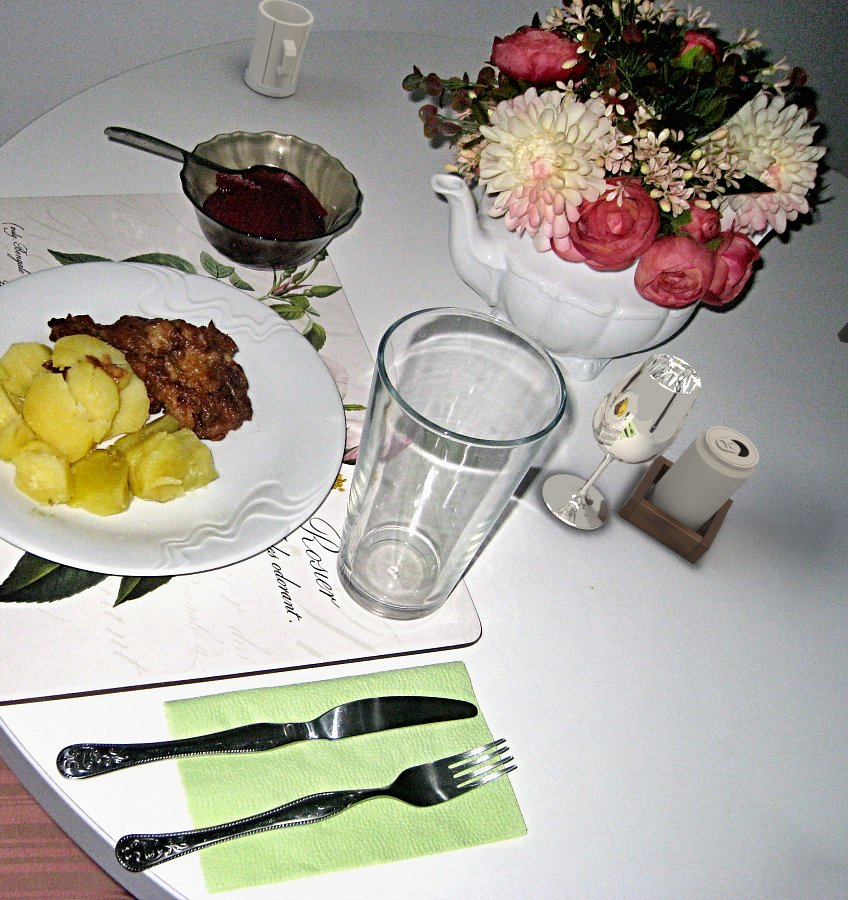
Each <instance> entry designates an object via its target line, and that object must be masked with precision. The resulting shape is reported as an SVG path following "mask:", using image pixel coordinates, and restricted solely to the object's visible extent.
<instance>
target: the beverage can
mask: <svg viewBox="0 0 848 900" xmlns="http://www.w3.org/2000/svg"><path fill="white" fill-rule="evenodd" d="M759 461H760V454H759V451H758V449H757V448H756V446H755V444H754V443H753V442H752V441H751V440H750V439H749V438H748V437H747V436H746V435H744V434H742V433H741V432H739V431H737V430H735V429H733V428H731V427H728V426H722V425H714V426H711V427H709V428H708V429H707V430H706V431H703V432H701V433H699V434H698V435H697V436H696V437H695V438H694V439H693V441H692V442H691V443H690V444H689V445H688V447H687V448H686V449H684V451H683V452H682V454H681V455H680V456H679V457H678V458H677V459H676V461H675V462H673V463H674V464H673V465H672V467H671V468H670V469H669V470H668V471H667V472H666V474H665V475H664V476H663V477H662V478H661V479H660V481H659V482H658V483H657V484H656V483H655V485H654V487H653V488H651V490H650V491H648V493H647V495H646V499H645V500H647V501H648V502H650V503H651V504H653V505H654V506H656V507H657V508H659V509H660V510H662V511H663V512H665V513H667V514H668V515H670V516H671V517H673V518H674V519H676V520H677V521H679V522H680V523H682V524H683V525H685V526H687V527H688V528H690V529H691V530H693V531H694V532H696V533H697V532H699V531H700V530H701V528H702V526H703V525H704V524H705V523H706V522H707V521H708V520H709V519H710V518H711V517H712V516H713V514H714V513H715V512H716V511H717V510H718V509H719V508H720V507H721V506H722V505H723V504H724V503H725V502H726V501H727V500H728V499H729V498H730V499H731V497H732V496H733V495H734V494H735V493H736V492H737V491H738V490H739V489H741V487H742V486H743V485H744V484H745V483H746V482H747V481H748V480H749V479H750V478H751V477H752V476H753V474H755V470H756V466H757V465H758V463H759Z"/></svg>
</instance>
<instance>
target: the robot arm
mask: <svg viewBox="0 0 848 900" xmlns="http://www.w3.org/2000/svg"><path fill="white" fill-rule="evenodd" d="M836 337H837V338H838V340H839V342H841V343H844V344H848V322H846V323H845V324H844V326H843V327H842V328H841V329H840V330H839V331H838V332H837V334H836Z"/></svg>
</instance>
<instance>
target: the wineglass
mask: <svg viewBox="0 0 848 900" xmlns="http://www.w3.org/2000/svg"><path fill="white" fill-rule="evenodd" d="M702 388H703V381H702V379H701V377H700V375H699V373H698V372H697V371H696V370H695V368H693V366H691V365H690V364H689V363H688V362H687V361H685V360H683V359H681V358H679V357H677V356H674V355H672V354H667V353H662V352H661V353H659V352H658V353H652V354H650V355H649V356H647V357H646V358H645V359H644V360H643V361H642V362H640V363H639V364H638V365H636V366H635V367H634V368H633V369H632V370H631V371H629V372H628V373H627V374H626V375H625V376H624V377H622V378H621V380H619V381H618V382H617V383H616V384H615V385H614V386H613V387H612V388H611V389H610V390H609V391H608V393H606V395H605V396H604V397H603V398H602V399H601V401H600V402H599V403H598V405H597V407H596V408H595V410H594V413H593V418H592V423H591V426H592V427H591V428H592V433H593V438H594V440H595V442H596V445H598V447H599V449H600V450H601V452H603V453H604V456H603V458H602V459H601V461H600V463H599V464H598V465H597V467H596V468H595V470H593V472H592V473H591V475H590V476H589V477H588V478H587V480H585V479H583V478H581V477H578V476H576V475H572V474H565V473H561V474H560V473H559V474H555V475H552V476H550V477H548V478H546V480H545V481H544V483H543V485H542V490H541V493H542V499H543V501H544V503H545V505H546V507H547V508H548V509H549V511H550V513H552V514H553V515H554V516H555V517H556V518H557V519H558V520H560V521H562V522H563V523H565V524H566V525H568V526H571V527H573V528H576V529H579V530H595V529H598V528H600V527H602V526H603V525H604V524H605V523H606V522H607V520H608V518H609V507H608V503H607V501H606V499H605V498H604V496H603V495H602V494H601V492H600V491H599V490H598V489H597V488H596V487H595V486H594V483H595V482H596V481H597V480H598V478H599V477H600V475H602V473H603V472H604V471H605V470H606V468H607V467H608V466H609V465H610V464H611V463H612V462H613V461H616V462H619V463H623V464H628V465H640V464H645V463H649V462H653V461H654V459H656V458H658V457H659V456H661V455H662V456H663V455H664V454H665V453H666V452H667V451H668V450H669V449H670V447H671V446H672V445H673V444H674V442H675V440H676V439H677V438H678V437H679V435H680V434H681V432H682V430H683V428H684V426H685V424H686V422H687V421H688V418H689V416H690V414H691V412H692V410H693V408H694V406H695V403H696V401H697V399H698V396H699V395H700V392H701V390H702Z"/></svg>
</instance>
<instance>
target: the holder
mask: <svg viewBox="0 0 848 900" xmlns="http://www.w3.org/2000/svg"><path fill="white" fill-rule="evenodd" d="M674 463H675V462H673V461H672V460H669V459H668V458H666V457H665V456H663V454H662V455H661V456H659V457H658V458H656V459H654V460H652V461H651V463H650V464H649V465H648V467H646V469H645V470H644V472H643V473H642V475H641V477H640V478H639V480H638V481H637V483H636V484H635V486H634V487H633V489H632V491H631V492H630V493H629V495H628V497H627V498H626V500H625V502H624V503H623V504H622V506H621V508H620V509H619V511H618V512H617V514H618V515H619V516H620V517H622V518H623V519H624V520H626V521H628V522H630V523H631V524H633V525H634V526H636V527H637V528H639V529H640V530H641V531H643V532H644V533H646V534H648V535H649V536H651V537H653V538H654V539H656V540H657V541H658V542H660V543H662V544H663V545H665V546H666V547H668V548H669V549H670V550H672V551H673V552H675V553H677V554H678V555H680V556H681V557H683V558H684V559H685V560H686V561H688V562H690V563H692V564H694V565H695V564H696V563H697V562H698V561H699V560H700V559H701V558H702V557H703V556H704V555H705V554H706V553H707V552H708V551H709V550H710V549H711V546H712V545H713V544H714V541H715V539H716V537H717V535H718V533H719V531H720V529H721V528H722V525H723V524H724V521H725V519H726V517H727V515H728V513H729V511H730V509H731V507H732V506H733V503H734V500H733V499H731V497H730V498H729V499H728V500H727V501H726V502H725V503H724V504H723V505H722V506H721V507H720V508H719V509H718V510H717V511H716V512H715V513H714V514H713V516H712V517H711V518H710V519H709V520H708V521H707V522H706V523H705V524H704V525H703V526H702V527H701V528H700V529H699V531H698V533H697V532H694V531H693V530H691V529H690V528H688V527H687V526H685V525H683V524H682V523H680V522H679V521H677V520H676V519H674V518H673V517H671V516H670V515H668V514H667V513H665V512H663V511H662V510H660V509H659V508H657V507H656V506H654V505H653V504H651V503H650V502H648V501H647V500H646V499H645V498H644V497H645V496H646V494H647V492H648V490H649V489H650V487H651V485H652V484H653V483H655V485H656V484H657V483H658V482H659V481H660V479H661V478H662V477H663V476H664V475H665V474H666V472H667V471H668V470H669V469H670V468H671V467H672V465H673V464H674Z"/></svg>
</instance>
